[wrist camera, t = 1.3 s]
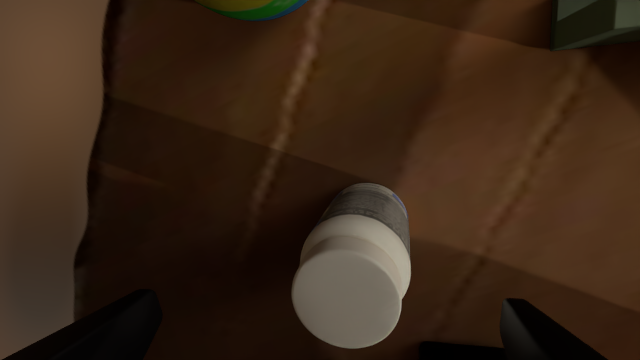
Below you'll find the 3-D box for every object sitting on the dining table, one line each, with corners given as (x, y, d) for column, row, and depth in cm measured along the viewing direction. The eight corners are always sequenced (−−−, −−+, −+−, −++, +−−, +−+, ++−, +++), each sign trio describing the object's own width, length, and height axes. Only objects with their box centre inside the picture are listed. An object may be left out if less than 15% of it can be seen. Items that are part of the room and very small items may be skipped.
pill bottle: (324, 184, 20) (270, 240, 12) (405, 178, 18) (407, 236, 11) (333, 258, 21) (290, 355, 13) (411, 256, 19) (417, 364, 12)
